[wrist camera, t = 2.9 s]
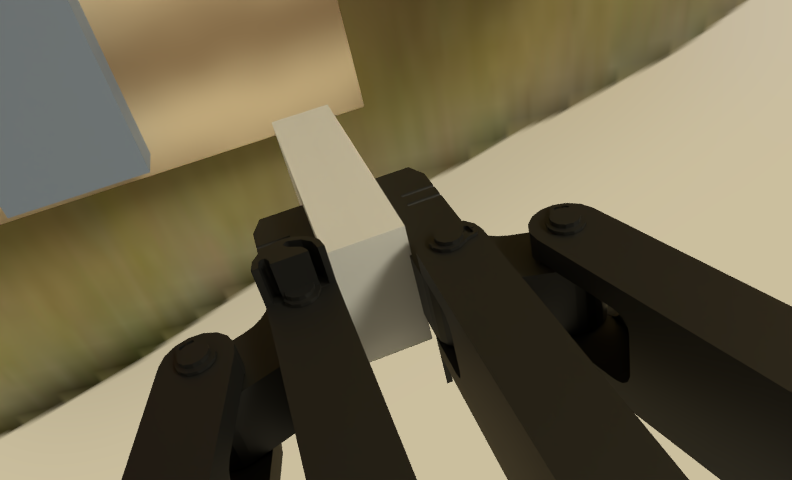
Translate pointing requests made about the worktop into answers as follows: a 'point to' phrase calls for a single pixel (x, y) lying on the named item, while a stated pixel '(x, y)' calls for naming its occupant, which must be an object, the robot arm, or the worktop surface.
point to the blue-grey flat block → (59, 109)
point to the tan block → (219, 71)
